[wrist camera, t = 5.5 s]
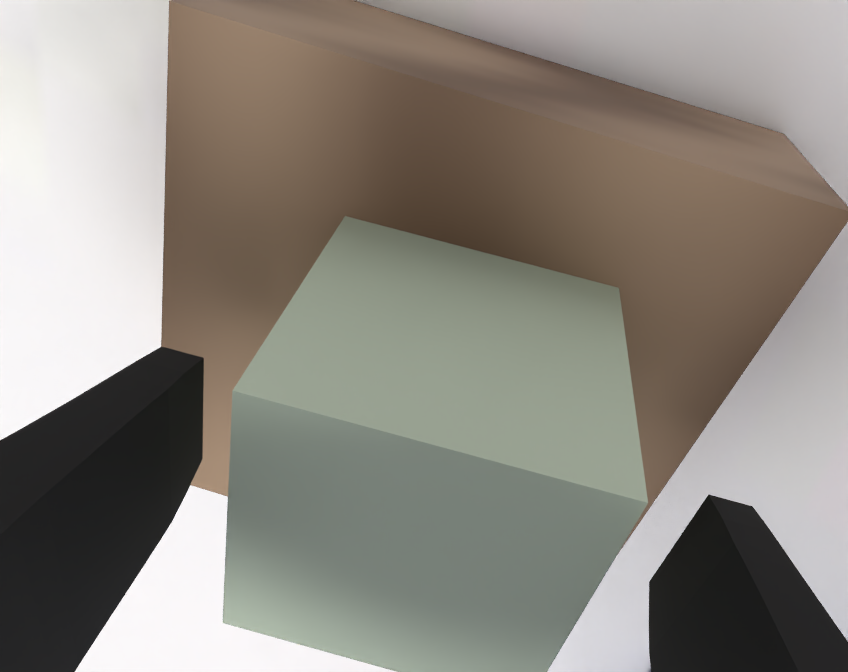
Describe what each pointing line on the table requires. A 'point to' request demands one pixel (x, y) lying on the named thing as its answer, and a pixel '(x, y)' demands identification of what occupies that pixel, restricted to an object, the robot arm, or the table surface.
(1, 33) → the table surface
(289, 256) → the walnut block
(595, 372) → the sage cube
